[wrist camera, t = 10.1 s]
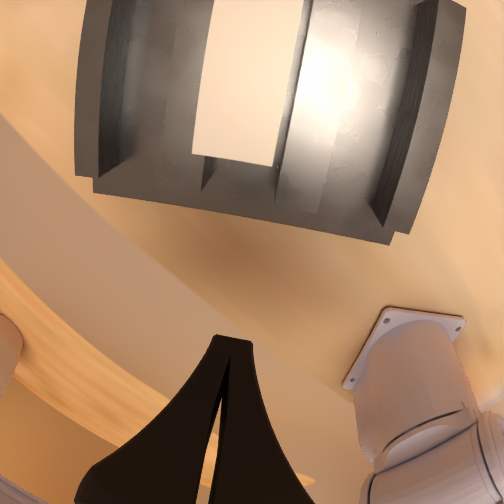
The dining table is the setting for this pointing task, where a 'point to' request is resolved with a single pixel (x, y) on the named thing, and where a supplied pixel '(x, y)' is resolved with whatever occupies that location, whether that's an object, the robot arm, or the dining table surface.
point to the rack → (293, 116)
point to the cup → (8, 352)
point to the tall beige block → (245, 78)
